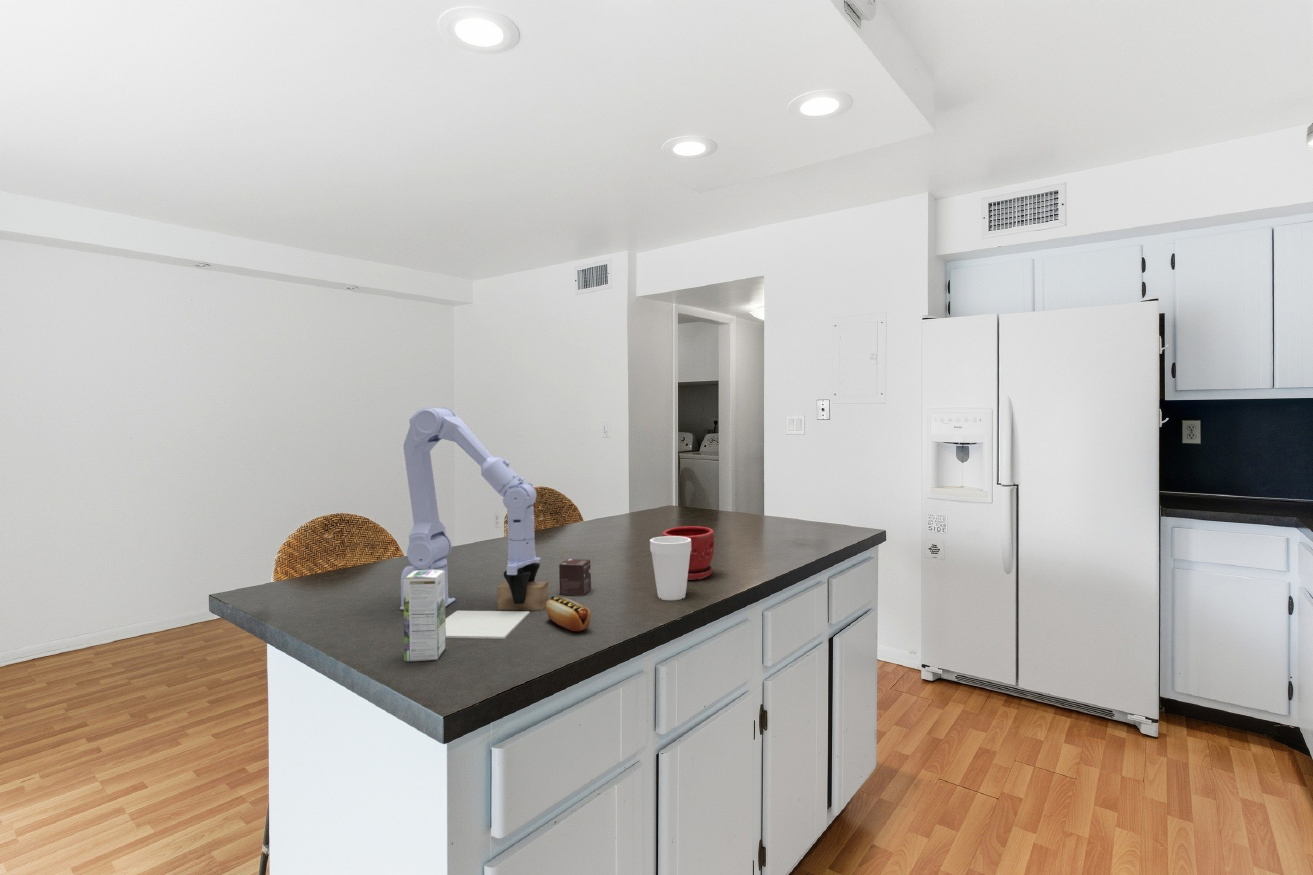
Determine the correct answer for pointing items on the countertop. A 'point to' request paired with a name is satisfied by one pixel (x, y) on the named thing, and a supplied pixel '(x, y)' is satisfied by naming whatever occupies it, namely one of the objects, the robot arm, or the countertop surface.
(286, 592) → the countertop surface
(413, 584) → the syrup box
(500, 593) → the wooden block
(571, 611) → the hot dog
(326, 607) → the countertop surface
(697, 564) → the plant pot
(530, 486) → the robot arm
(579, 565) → the box
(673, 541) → the foam cup
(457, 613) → the mat
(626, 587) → the countertop surface
